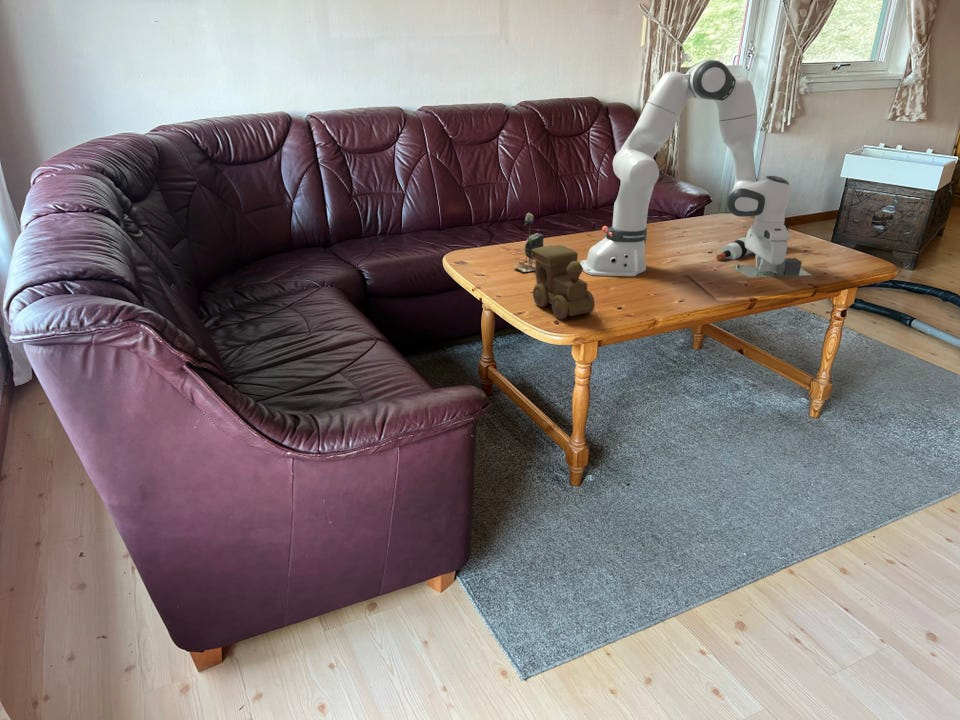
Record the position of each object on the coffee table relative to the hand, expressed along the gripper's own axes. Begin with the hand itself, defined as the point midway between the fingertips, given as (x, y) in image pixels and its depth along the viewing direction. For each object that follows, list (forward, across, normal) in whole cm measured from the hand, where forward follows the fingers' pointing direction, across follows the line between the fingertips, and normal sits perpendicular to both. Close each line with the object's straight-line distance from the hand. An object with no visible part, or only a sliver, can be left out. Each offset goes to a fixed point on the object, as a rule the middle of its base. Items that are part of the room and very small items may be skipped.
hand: (760, 269), depth 223 cm
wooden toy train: (+3, +22, -72) cm, 75 cm away
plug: (+1, 0, +7) cm, 7 cm away
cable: (+3, -22, +7) cm, 23 cm away
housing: (+2, -2, +5) cm, 6 cm away
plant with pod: (+3, -16, -75) cm, 77 cm away
